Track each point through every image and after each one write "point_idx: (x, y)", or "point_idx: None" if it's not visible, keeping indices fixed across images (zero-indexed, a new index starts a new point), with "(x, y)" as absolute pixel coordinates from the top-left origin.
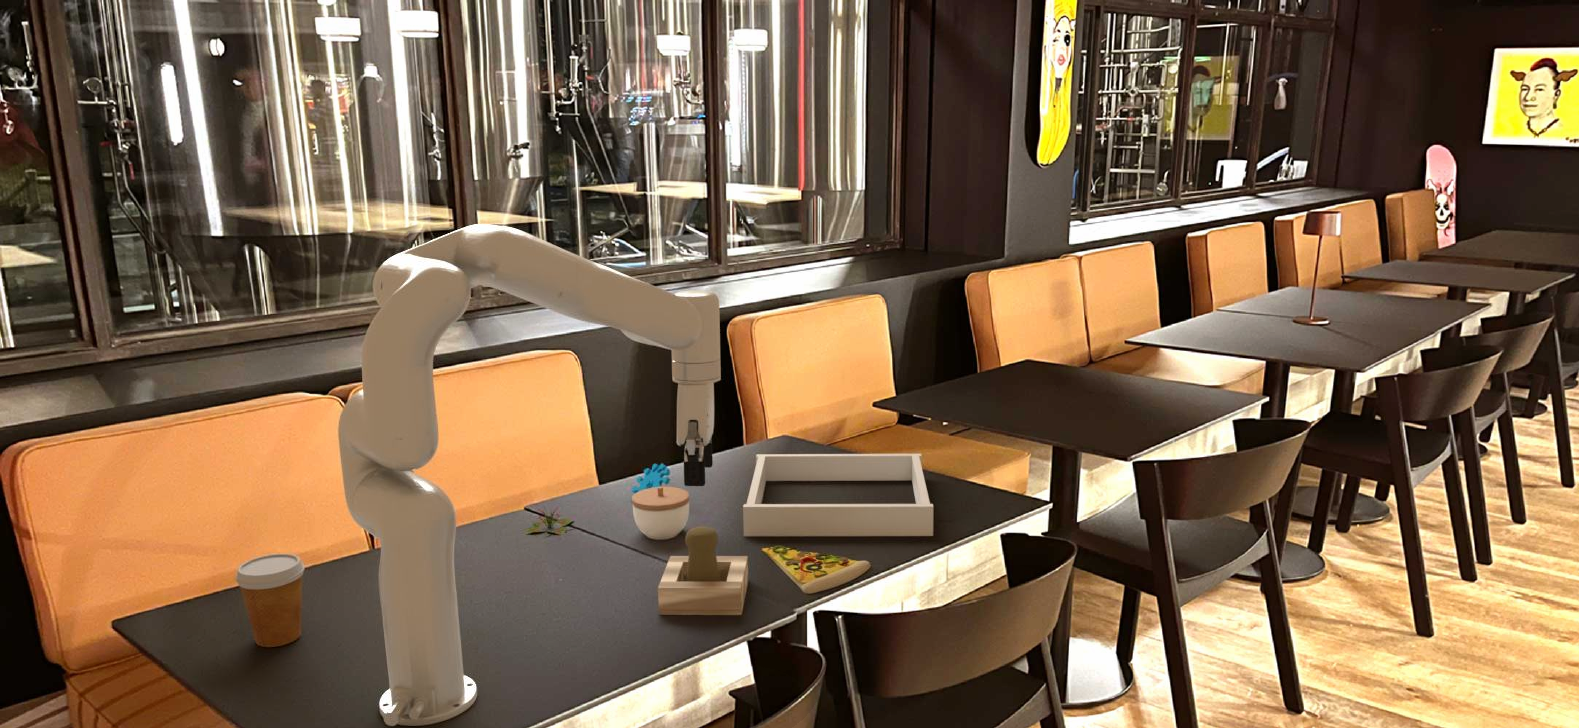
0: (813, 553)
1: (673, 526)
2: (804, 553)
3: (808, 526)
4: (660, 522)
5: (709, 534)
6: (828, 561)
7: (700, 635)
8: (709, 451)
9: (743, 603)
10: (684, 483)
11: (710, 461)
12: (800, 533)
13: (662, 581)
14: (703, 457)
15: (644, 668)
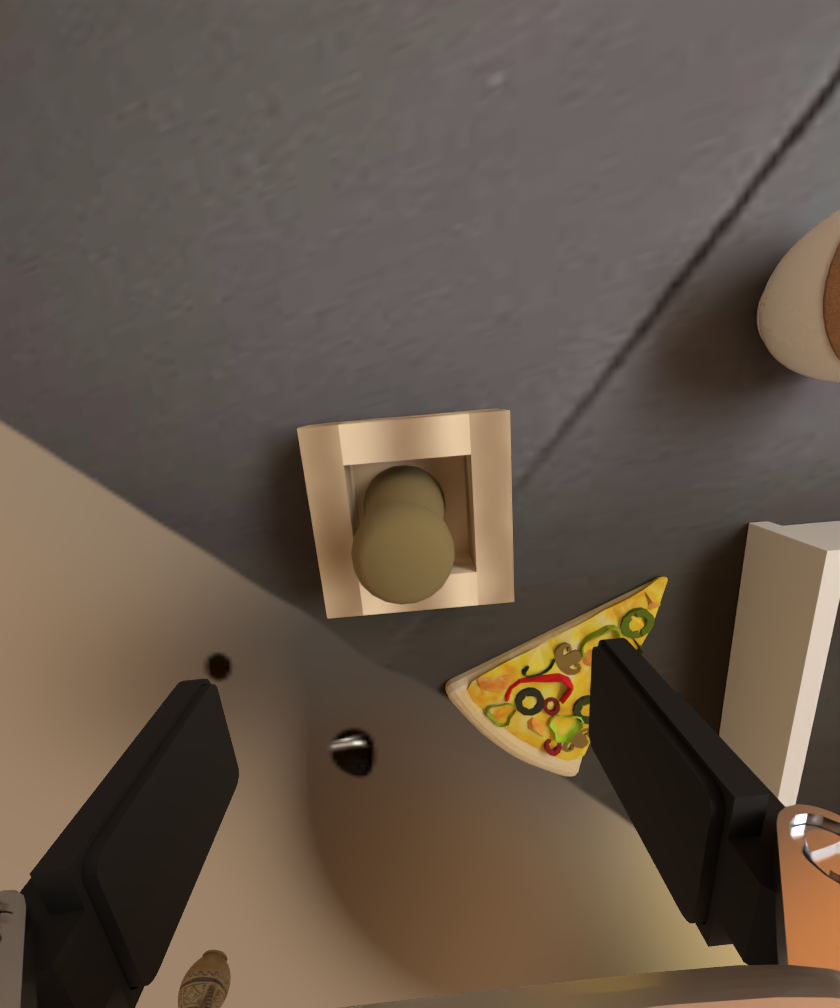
0: None
1: (778, 351)
2: None
3: (752, 670)
4: (784, 310)
5: (376, 594)
6: (561, 722)
7: (237, 530)
8: (650, 847)
9: None
10: (174, 688)
11: (608, 770)
12: (740, 644)
13: (338, 430)
14: (626, 758)
15: (74, 454)
